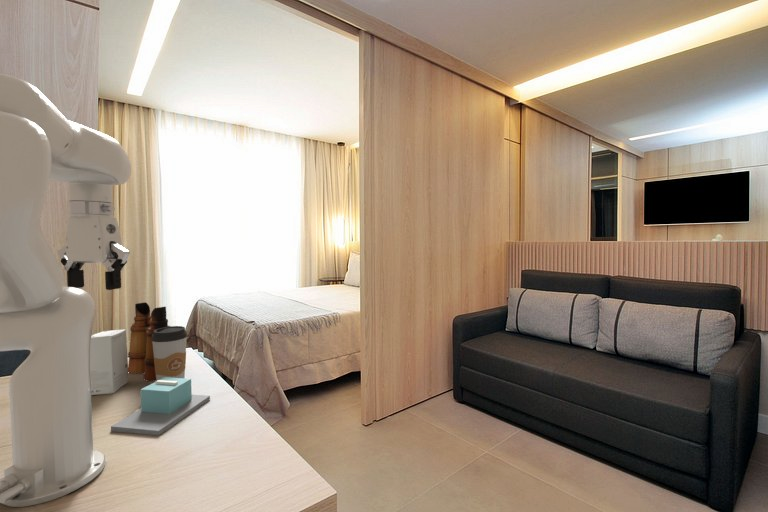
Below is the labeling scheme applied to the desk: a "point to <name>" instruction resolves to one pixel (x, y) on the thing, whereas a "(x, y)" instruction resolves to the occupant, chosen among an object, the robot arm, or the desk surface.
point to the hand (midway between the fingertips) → (94, 288)
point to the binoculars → (145, 339)
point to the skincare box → (108, 361)
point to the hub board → (157, 418)
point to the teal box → (166, 395)
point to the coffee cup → (169, 352)
